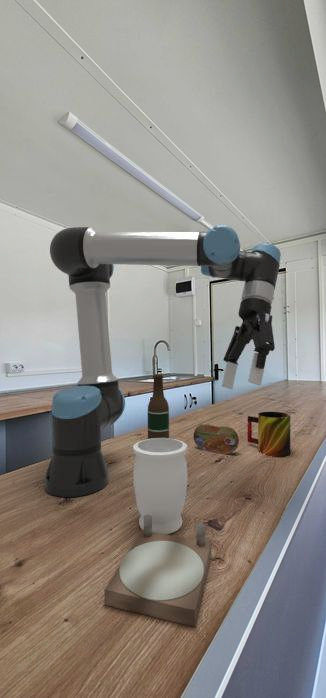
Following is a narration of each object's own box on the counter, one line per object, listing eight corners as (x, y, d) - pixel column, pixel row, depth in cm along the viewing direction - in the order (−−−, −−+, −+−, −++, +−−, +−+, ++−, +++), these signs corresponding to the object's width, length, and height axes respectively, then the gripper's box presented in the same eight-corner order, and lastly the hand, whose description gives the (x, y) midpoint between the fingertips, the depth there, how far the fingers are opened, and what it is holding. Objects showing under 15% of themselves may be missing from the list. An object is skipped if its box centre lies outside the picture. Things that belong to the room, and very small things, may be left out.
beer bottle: (173, 440, 115) (173, 374, 115) (161, 446, 108) (161, 375, 108) (155, 437, 119) (155, 373, 119) (143, 442, 113) (142, 374, 112)
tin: (193, 448, 106) (192, 423, 106) (197, 446, 109) (197, 421, 109) (236, 456, 98) (236, 429, 98) (240, 453, 100) (240, 427, 100)
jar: (183, 543, 55) (183, 455, 55) (126, 536, 57) (125, 452, 57) (190, 511, 65) (190, 438, 65) (141, 507, 67) (141, 435, 67)
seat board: (104, 604, 42) (104, 566, 42) (141, 541, 55) (141, 512, 55) (195, 626, 38) (195, 585, 38) (211, 554, 52) (211, 523, 52)
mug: (247, 444, 110) (247, 409, 110) (291, 449, 104) (290, 412, 104) (242, 453, 101) (242, 415, 101) (289, 459, 95) (289, 419, 95)
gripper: (301, 290, 68) (286, 386, 63) (245, 321, 92) (230, 392, 87) (271, 278, 67) (252, 375, 62) (221, 313, 90) (205, 385, 85)
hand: (239, 385), depth 74 cm, fingers open, 13 cm apart
